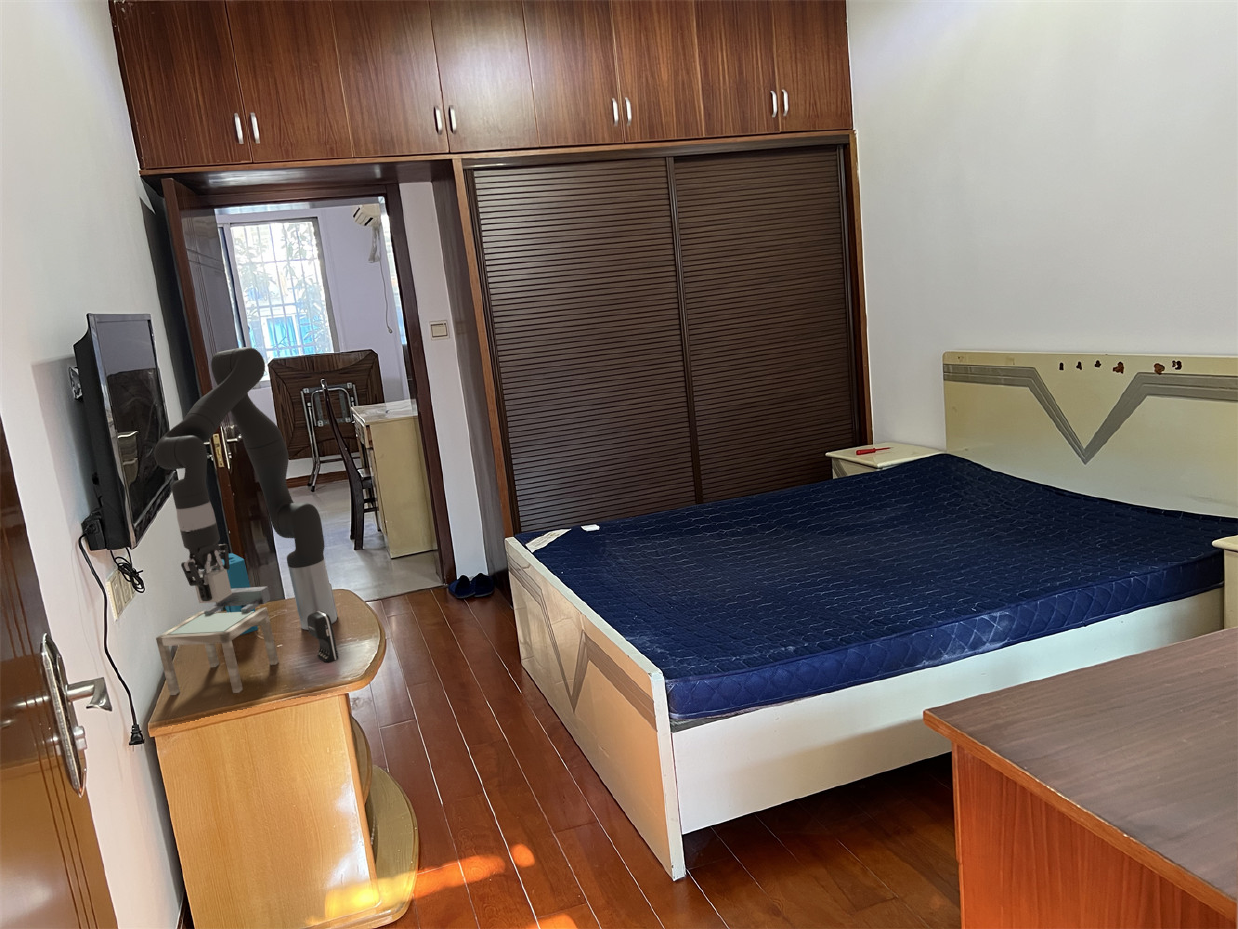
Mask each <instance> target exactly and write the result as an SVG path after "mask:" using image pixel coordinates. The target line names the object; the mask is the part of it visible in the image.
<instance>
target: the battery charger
mask: <svg viewBox="0 0 1238 929" xmlns="http://www.w3.org/2000/svg"><path fill="white" fill-rule="evenodd" d="M307 623H308V629H309V630H308V633H309V635H310V636H311V637H313V638H315V639H317V640H318V644H319V648H318V652H317V655H316V656H317V658H318V659H319V660H321V661H323V662H324V663H330V662H333V661H337V660H338V659H339V653H338V648H337V645H336V638H335V632H334V628H333V624H332V623H331V619H330V617H329V615H328V614H326V613H325V612H322V611H317V612H315V613H312V614H310V615H309V616H308V618H307Z"/></svg>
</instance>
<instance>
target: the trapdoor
mask: <svg viewBox="0 0 1238 929" xmlns="http://www.w3.org/2000/svg"><path fill="white" fill-rule="evenodd" d="M231 591H232V594H231V595H229V596H228V597H226V598H224V599H223V600H221V601H220V602H215V604H214V605H212V606H210V607H209V608H207V609H206V610H203V611H204V613H205V614H202V615H201V616H199V617H197V618H196V619H194V620H192V621H190V622H189V623H187V624H185V625H184V626H182V627H180V628H179V629H177V630H175V631H174V632H172V633H170V634H169V635H177V634H197V633H216V632H225V631H226V630H228V629H229V628H231V627H232V626H234V625H235V624H237V623H238V622H240V621H242V620H243V619H245V618H246V617H248V616H249V615H251V614H252V613H254V612H255V611H256V610H255V611H251V610H253V609H254V608H255V609H256V608H257V607H259V606H261V605H264V604H266V603H268V602H269V601H270V600H271V595H270V590H269V586H267V585H266V586H256V587H255V586H254V587H251V586H250V588H235V589H231ZM240 605H247V606H245V607H244V608H242V609H241V612H229V613H227V612H219V611H220V610H221V609H223V608H225V606H240ZM217 611H218V612H217Z"/></svg>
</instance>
